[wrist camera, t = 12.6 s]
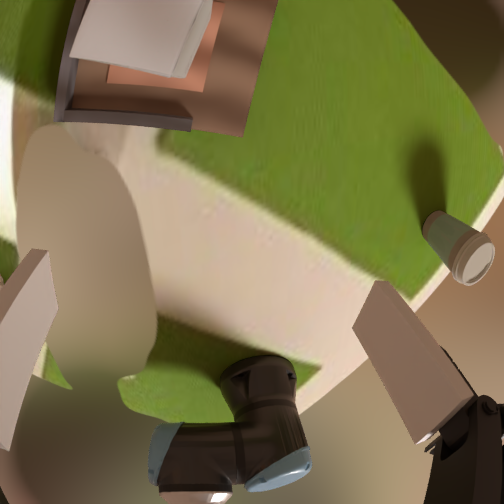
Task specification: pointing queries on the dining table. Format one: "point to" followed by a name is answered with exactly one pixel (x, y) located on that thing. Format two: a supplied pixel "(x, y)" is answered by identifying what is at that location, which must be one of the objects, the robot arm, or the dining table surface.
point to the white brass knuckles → (1, 282)
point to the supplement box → (143, 34)
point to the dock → (173, 78)
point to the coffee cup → (459, 247)
